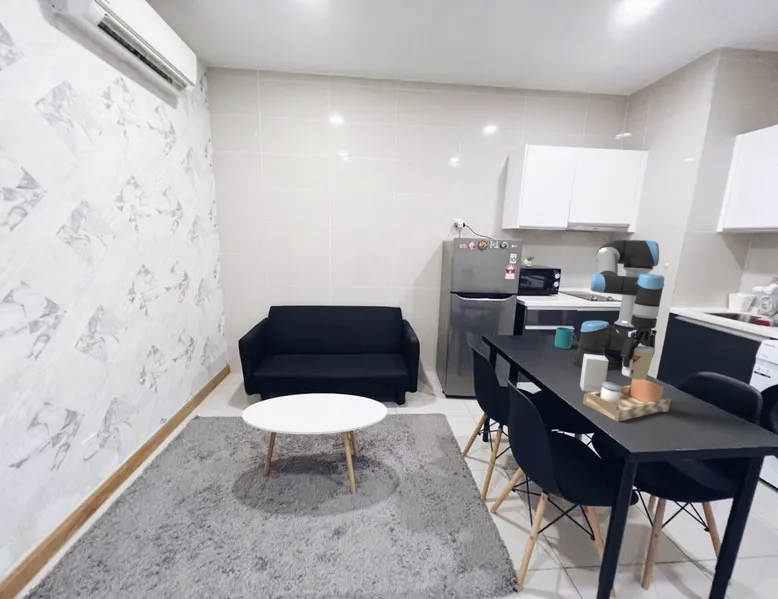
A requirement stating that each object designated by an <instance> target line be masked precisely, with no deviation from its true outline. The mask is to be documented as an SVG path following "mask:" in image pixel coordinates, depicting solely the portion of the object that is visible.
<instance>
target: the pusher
mask: <svg viewBox="0 0 778 599" xmlns="http://www.w3.org/2000/svg"><path fill="white" fill-rule="evenodd" d="M630 385H631V388H630V394H629V396H631V397H634V398H636V399H638V400H641V401H643V402H645V403H647V402H652V401H656V400H661V399H662V396H663V391H664V386H663V385H660V384H657V383H655V382H653V381H649V380H647V379H645V380H637V379H632V378H631V383H630Z"/></svg>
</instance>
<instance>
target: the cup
mask: <svg viewBox="0 0 778 599" xmlns="http://www.w3.org/2000/svg"><path fill="white" fill-rule="evenodd" d="M555 330H556V331H555V332H556V333H555V337H554V347H556V348H558V347H559V348H558V349H561V348H562V349H561V350H569V349H570V350H571V349H572V344H573V343H575V342H576V341H577V335H576V334H575V333H574V329H572V328H569V327H564V326H560V327H559V326H558V327H556V329H555ZM573 336H574V339H573Z"/></svg>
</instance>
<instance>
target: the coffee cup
mask: <svg viewBox="0 0 778 599" xmlns="http://www.w3.org/2000/svg"><path fill="white" fill-rule="evenodd" d="M653 353H654V348H653V347H651V346H644V345H641V343H640V344H639V345H638V347H637V348H635V350H634V355H633V357H632V359H633V364H632V369H631V375H630V376H626V375H624V374H622V375H623V376H625V377H626V378H630V379H631V380H632V379H637V380H647V377H648V373H649V371H650V367H651V363H652V360H653V358H654V355H653ZM654 354H655V353H654ZM629 356H630V355H629ZM623 364H624V357H622V364H621V365H622V366H621V370H622V369H623Z"/></svg>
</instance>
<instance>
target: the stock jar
mask: <svg viewBox="0 0 778 599" xmlns="http://www.w3.org/2000/svg"><path fill="white" fill-rule="evenodd" d="M621 391H622V385H620V384H618V383H615V382H612V381H606V382H603V383H602V390H601V396H600V398H602V399H604V400H606V401H608V402H611V403H613V404H615V405H617V406H619V400H620V395H621Z"/></svg>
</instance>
